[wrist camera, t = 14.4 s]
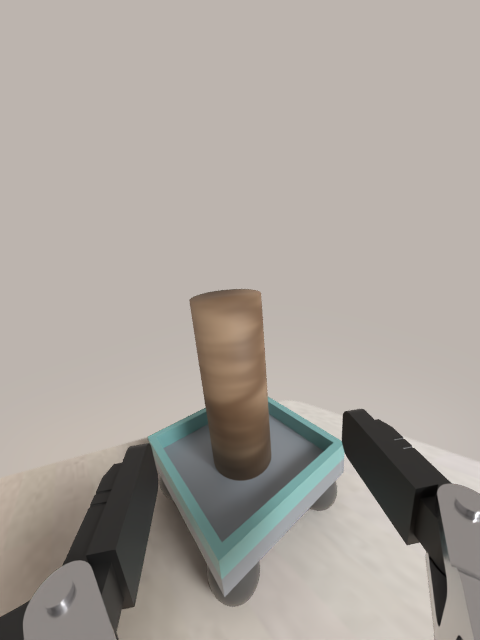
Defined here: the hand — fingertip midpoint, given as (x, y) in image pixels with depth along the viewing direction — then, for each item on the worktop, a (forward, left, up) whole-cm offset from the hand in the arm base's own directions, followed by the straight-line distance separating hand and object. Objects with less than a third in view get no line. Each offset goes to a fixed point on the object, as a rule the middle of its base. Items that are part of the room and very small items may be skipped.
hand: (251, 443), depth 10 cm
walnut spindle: (+5, +8, -9) cm, 13 cm away
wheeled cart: (+5, +8, -14) cm, 17 cm away
